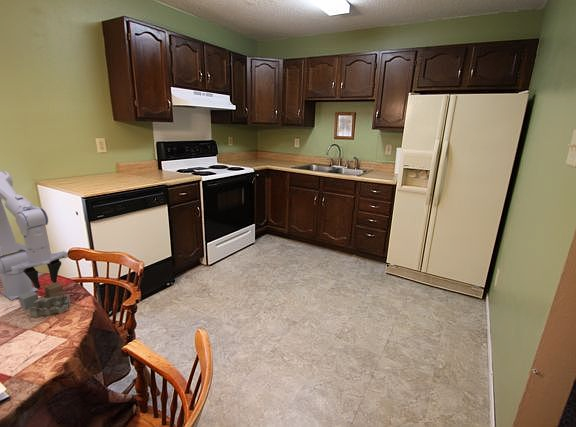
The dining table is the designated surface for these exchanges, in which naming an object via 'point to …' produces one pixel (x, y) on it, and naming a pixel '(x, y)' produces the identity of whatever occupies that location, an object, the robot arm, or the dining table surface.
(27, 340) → the dining table surface
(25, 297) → the slate-grey block
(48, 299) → the grey piece
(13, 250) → the robot arm
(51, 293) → the walnut block
